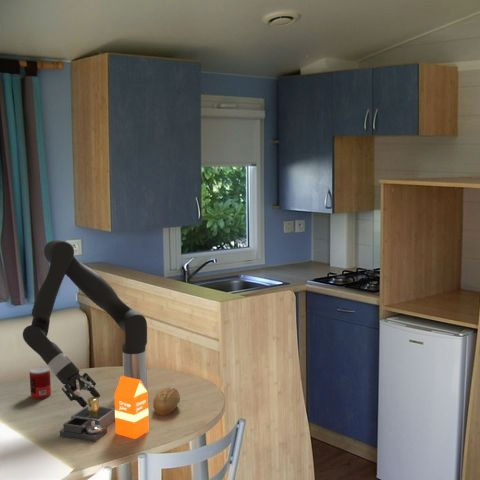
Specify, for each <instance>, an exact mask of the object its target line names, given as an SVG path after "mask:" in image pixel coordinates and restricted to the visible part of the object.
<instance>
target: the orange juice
mask: <svg viewBox="0 0 480 480" xmlns="http://www.w3.org/2000/svg"><path fill="white" fill-rule="evenodd" d="M148 392H149V391H148V389H147V390H146V388H145V387H144V385H143V384H142V382H141V381H140V380H139V379H134V378H129V377H125V376H123V375H121V376H120V379H119V382H118V384H117V386H116V389H115V392H114V395H113V397H114V408H115V420H114V421H115V434H117V435H120V436H124V437H126V438H131V439H134V440H136V439H139V438H140V437H141V436H143V435H144V434H147V433H149V431H150V428H149V425H150V424H149V401H148V399H149V397H148V396H149V395H148V394H149V393H148Z"/></svg>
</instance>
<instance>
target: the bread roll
mask: <svg viewBox="0 0 480 480" xmlns="http://www.w3.org/2000/svg"><path fill="white" fill-rule="evenodd" d="M180 401H181V396H180V393H179V391H178V389H176V388H171V387H167V388H165V387H164V388H162V389H161V388H160V390H159V391H158V392H156V394H155V396H154V398H153V403H152V405H153V410H154V412H155V413H156V414H157V415H159V416H163V417H164V416H167V415H170V414H172V413H173V412H174V411H175V409H176V408H177V406H178V404H179V403H180Z"/></svg>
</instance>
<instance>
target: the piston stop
mask: <svg viewBox="0 0 480 480" xmlns="http://www.w3.org/2000/svg"><path fill="white" fill-rule="evenodd" d="M99 398H100V397H99ZM99 398H97V397H93V396H90V397H88V398H87V400H86V402H87V406H88V418H93V419H99V406H100V401H99Z"/></svg>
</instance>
